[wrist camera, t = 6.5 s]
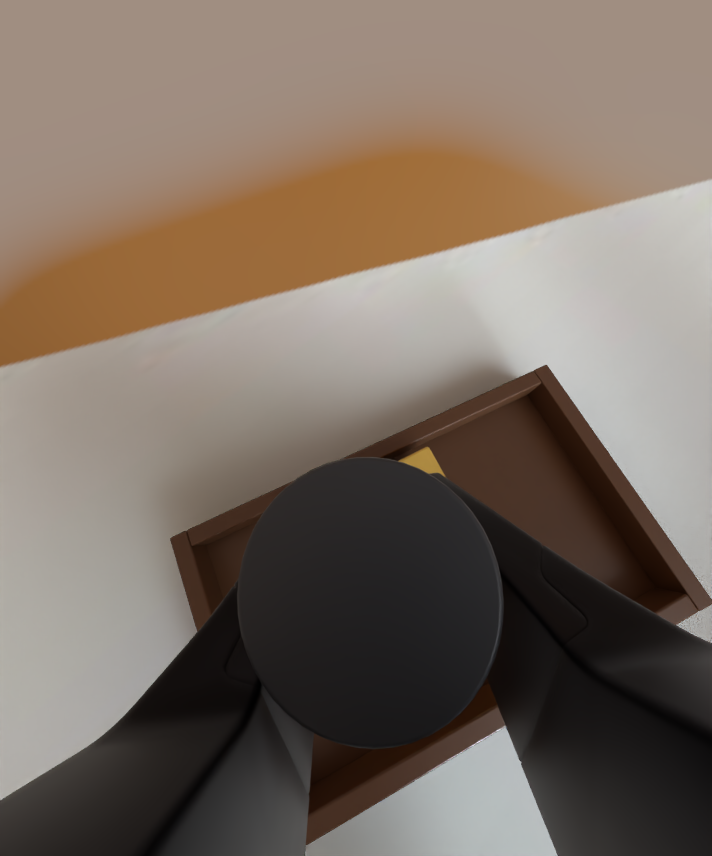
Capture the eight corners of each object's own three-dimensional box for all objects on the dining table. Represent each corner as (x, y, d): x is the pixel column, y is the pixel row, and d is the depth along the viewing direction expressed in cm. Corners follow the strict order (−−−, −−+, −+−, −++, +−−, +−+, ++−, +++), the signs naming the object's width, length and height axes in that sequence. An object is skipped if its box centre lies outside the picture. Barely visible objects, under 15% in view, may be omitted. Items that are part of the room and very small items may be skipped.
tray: (525, 383, 18) (546, 364, 16) (666, 593, 15) (714, 603, 13) (193, 536, 16) (168, 537, 14) (280, 817, 13) (266, 871, 11)
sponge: (423, 455, 15) (505, 300, 4) (474, 548, 14) (781, 681, 3) (304, 515, 15) (57, 522, 4) (346, 614, 14) (164, 1006, 3)
